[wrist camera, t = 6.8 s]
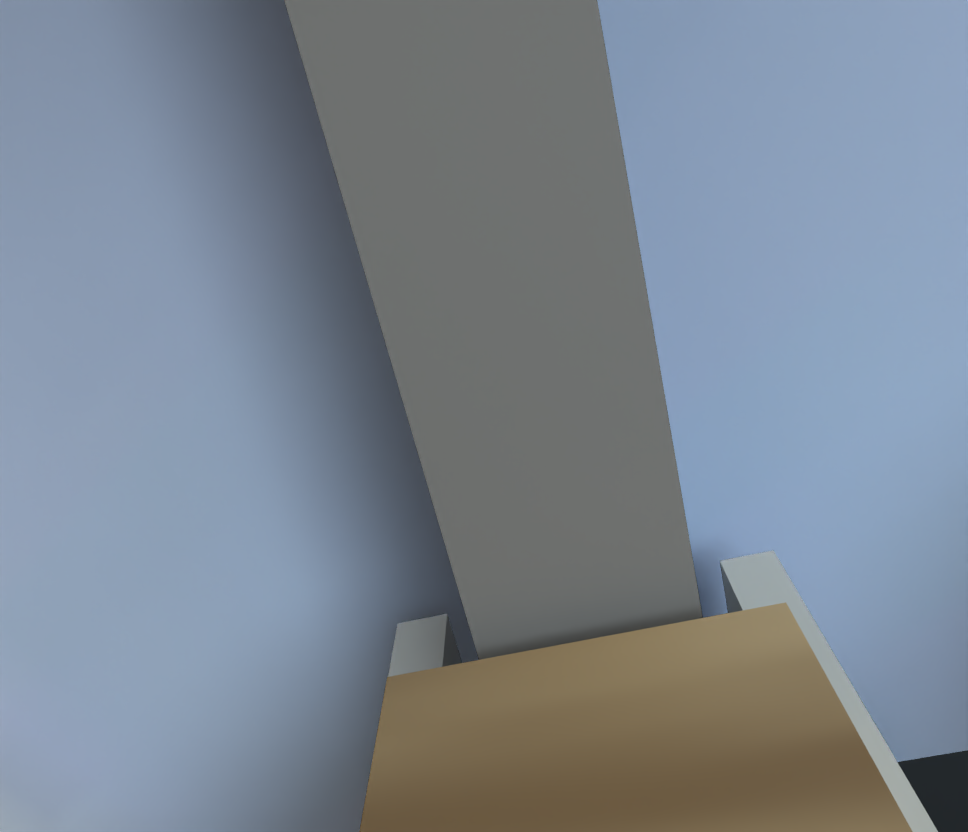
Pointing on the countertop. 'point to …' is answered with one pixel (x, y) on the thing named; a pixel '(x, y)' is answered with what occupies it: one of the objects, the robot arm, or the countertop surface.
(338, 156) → the rail
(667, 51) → the countertop surface
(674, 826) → the oak peg
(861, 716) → the robot arm
